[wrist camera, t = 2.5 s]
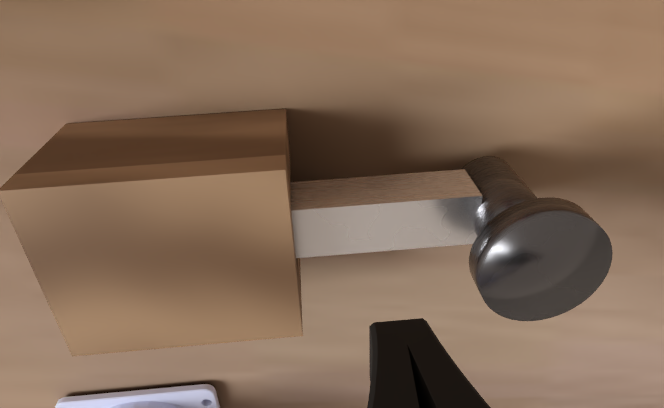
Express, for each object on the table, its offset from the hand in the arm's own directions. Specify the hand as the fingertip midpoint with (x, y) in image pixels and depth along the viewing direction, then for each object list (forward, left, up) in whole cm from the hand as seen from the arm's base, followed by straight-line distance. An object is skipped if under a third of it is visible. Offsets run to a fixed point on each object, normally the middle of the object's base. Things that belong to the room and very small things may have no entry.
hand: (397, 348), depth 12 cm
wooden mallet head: (0, +7, -9) cm, 11 cm away
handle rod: (0, +2, -8) cm, 8 cm away
